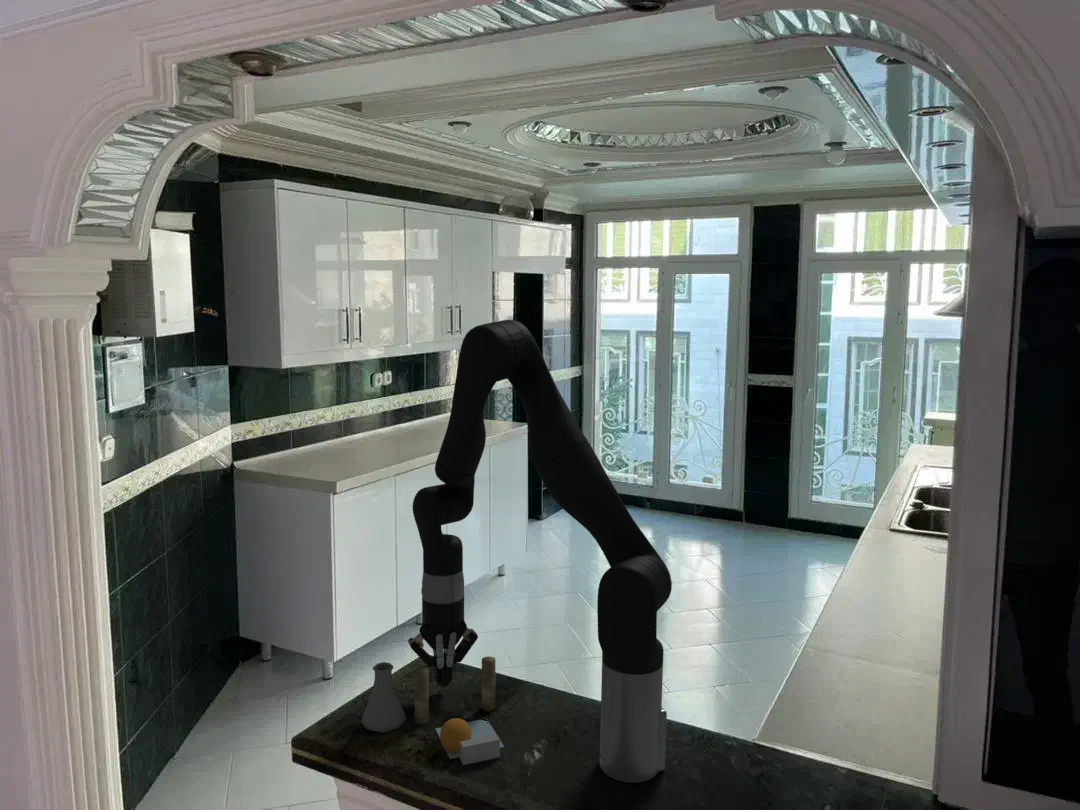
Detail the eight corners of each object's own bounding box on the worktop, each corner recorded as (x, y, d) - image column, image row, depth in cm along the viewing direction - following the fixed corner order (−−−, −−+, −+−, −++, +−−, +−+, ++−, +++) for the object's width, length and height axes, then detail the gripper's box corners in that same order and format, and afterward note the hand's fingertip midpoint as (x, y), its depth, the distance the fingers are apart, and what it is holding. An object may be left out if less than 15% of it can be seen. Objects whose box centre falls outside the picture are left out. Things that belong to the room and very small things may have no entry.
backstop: (496, 751, 126) (496, 734, 125) (499, 757, 124) (499, 739, 124) (460, 759, 124) (460, 741, 123) (463, 765, 122) (463, 747, 122)
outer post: (427, 715, 136) (426, 666, 135) (430, 722, 134) (430, 672, 133) (413, 718, 135) (412, 668, 134) (416, 725, 133) (415, 675, 132)
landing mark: (486, 719, 135) (486, 718, 135) (504, 747, 127) (504, 746, 127) (435, 729, 132) (435, 728, 132) (449, 759, 124) (449, 757, 124)
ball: (467, 709, 127) (473, 738, 123) (469, 723, 130) (475, 753, 126) (436, 716, 126) (441, 746, 122) (438, 731, 129) (444, 761, 125)
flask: (382, 738, 129) (381, 681, 128) (353, 723, 134) (351, 667, 132) (414, 720, 135) (413, 664, 134) (385, 706, 139) (384, 652, 138)
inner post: (492, 703, 141) (492, 655, 139) (497, 710, 138) (497, 661, 137) (479, 705, 140) (479, 657, 139) (484, 712, 138) (484, 663, 136)
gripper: (411, 606, 136) (412, 701, 138) (484, 596, 141) (484, 688, 143) (401, 591, 143) (403, 681, 145) (472, 582, 148) (472, 669, 150)
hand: (443, 684), depth 144 cm, fingers closed
